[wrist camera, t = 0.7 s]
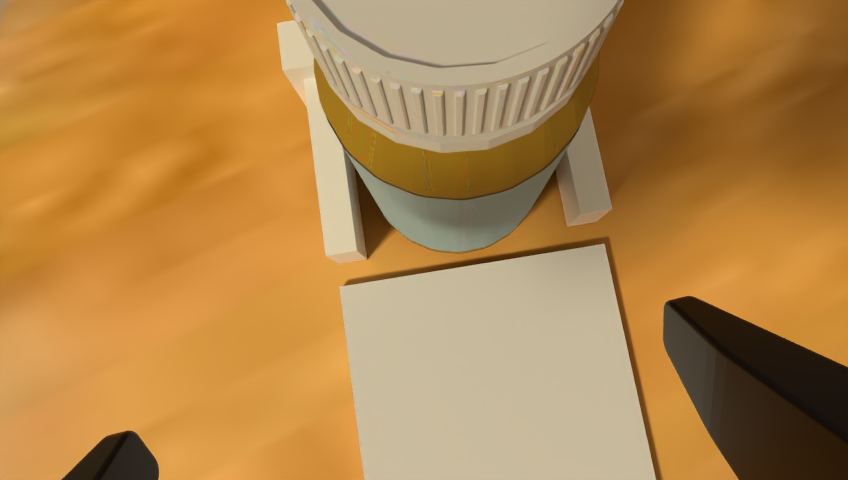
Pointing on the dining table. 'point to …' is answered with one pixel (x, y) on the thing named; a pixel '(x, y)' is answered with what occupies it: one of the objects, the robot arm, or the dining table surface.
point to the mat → (496, 373)
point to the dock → (337, 175)
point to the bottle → (455, 103)
